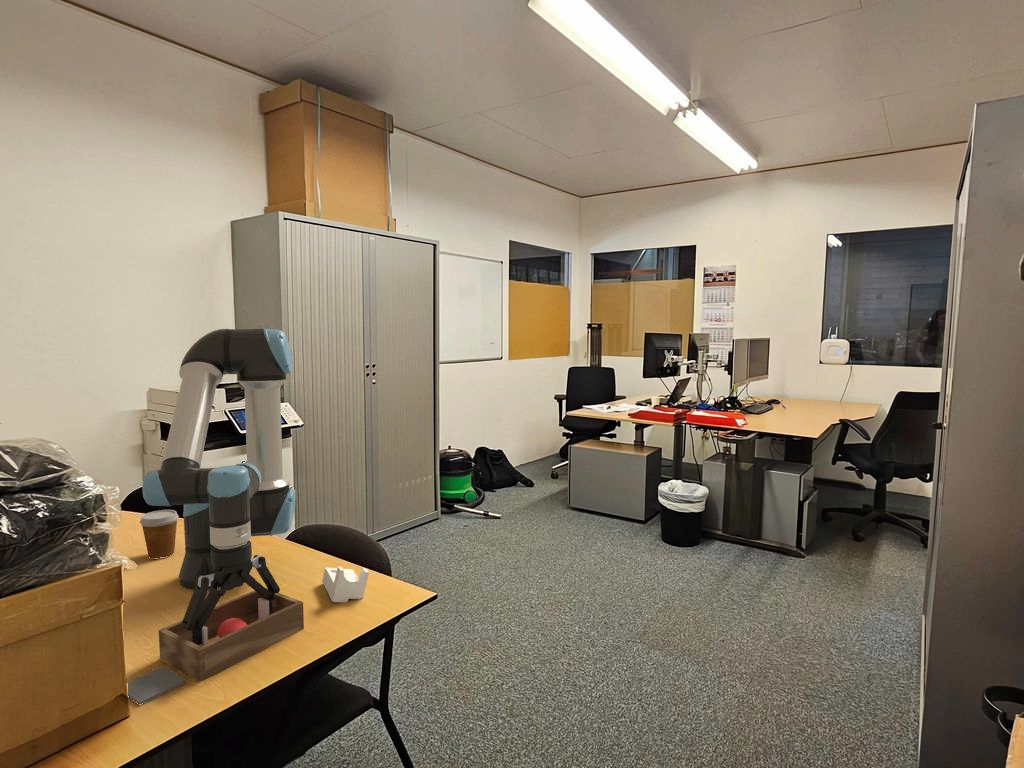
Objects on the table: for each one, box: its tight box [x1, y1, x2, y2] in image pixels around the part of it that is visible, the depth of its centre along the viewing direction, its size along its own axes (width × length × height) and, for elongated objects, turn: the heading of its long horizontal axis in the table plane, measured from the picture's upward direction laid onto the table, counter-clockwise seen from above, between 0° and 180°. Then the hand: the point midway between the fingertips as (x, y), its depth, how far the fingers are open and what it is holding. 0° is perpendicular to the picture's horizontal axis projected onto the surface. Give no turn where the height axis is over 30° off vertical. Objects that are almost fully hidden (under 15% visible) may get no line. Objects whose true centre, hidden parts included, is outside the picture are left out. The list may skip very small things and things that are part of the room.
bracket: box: [321, 566, 370, 603], centre depth 147 cm, size 13×7×8 cm, turn 28°
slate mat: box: [127, 666, 187, 705], centre depth 107 cm, size 8×8×1 cm
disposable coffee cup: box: [139, 509, 180, 559], centre depth 169 cm, size 10×10×12 cm
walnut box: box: [158, 587, 305, 682], centre depth 122 cm, size 14×23×6 cm, turn 148°
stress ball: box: [217, 618, 248, 639], centre depth 122 cm, size 5×9×6 cm, turn 34°
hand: (235, 643), depth 122 cm, fingers open, 13 cm apart
